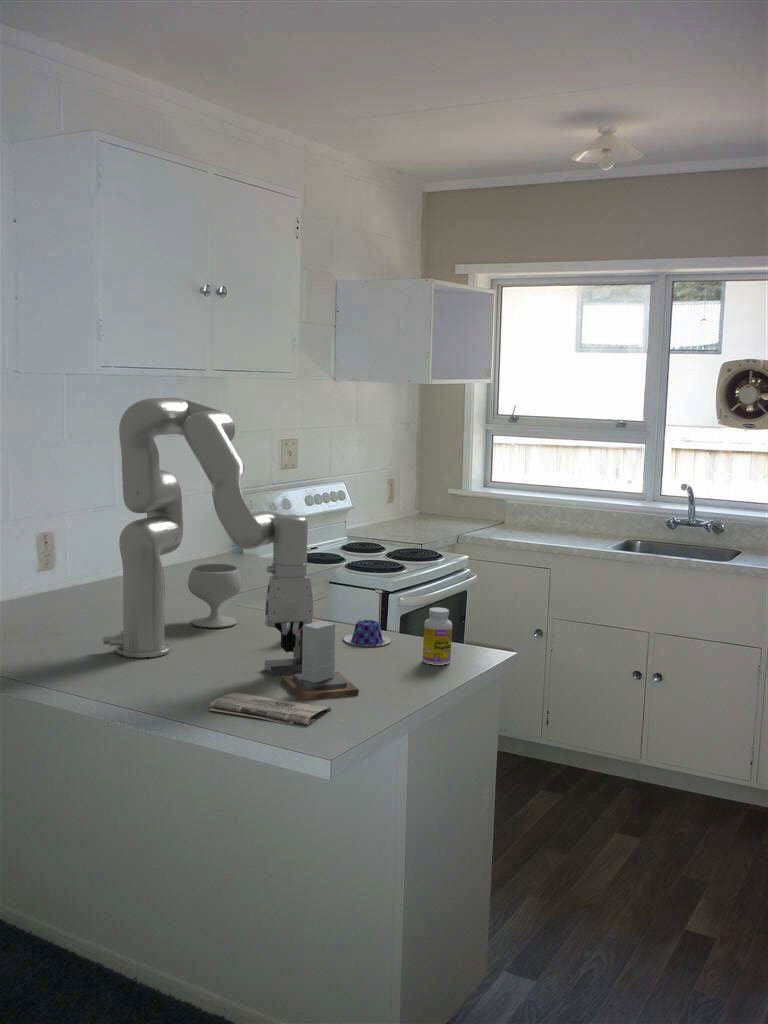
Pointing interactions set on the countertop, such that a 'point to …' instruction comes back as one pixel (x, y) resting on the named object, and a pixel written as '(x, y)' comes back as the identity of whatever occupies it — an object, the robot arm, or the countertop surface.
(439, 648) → the supplement bottle
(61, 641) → the countertop surface
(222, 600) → the chalice
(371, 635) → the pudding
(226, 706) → the newspaper
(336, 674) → the tray
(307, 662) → the skincare box
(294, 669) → the rail
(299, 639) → the handle
